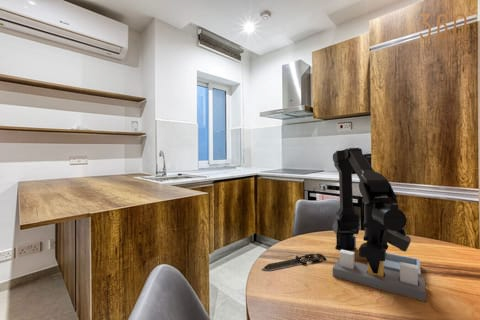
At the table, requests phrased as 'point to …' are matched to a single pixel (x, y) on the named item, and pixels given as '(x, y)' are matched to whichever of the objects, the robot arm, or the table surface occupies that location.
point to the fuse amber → (380, 270)
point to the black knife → (293, 262)
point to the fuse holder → (381, 280)
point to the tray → (394, 262)
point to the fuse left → (347, 259)
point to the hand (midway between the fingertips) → (375, 271)
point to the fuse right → (409, 273)
